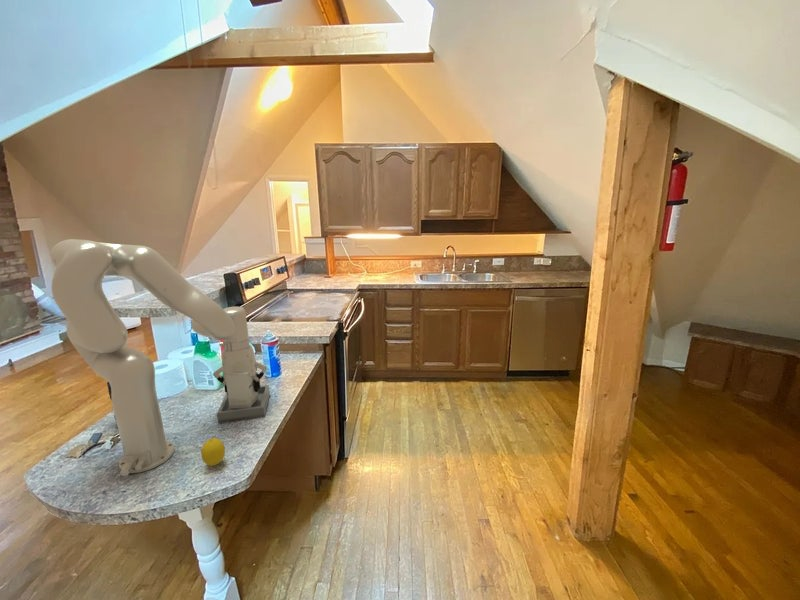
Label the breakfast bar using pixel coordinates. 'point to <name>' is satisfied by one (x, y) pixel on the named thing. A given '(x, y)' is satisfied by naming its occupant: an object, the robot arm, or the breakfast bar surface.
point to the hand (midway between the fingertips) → (243, 392)
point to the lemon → (213, 451)
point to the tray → (244, 413)
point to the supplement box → (241, 390)
